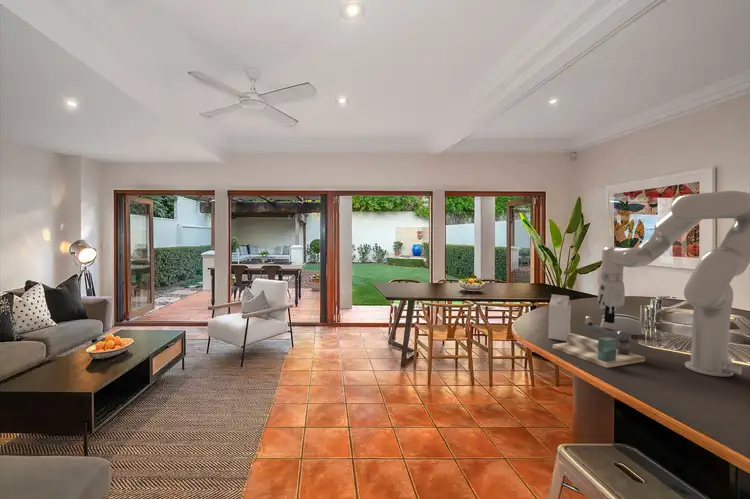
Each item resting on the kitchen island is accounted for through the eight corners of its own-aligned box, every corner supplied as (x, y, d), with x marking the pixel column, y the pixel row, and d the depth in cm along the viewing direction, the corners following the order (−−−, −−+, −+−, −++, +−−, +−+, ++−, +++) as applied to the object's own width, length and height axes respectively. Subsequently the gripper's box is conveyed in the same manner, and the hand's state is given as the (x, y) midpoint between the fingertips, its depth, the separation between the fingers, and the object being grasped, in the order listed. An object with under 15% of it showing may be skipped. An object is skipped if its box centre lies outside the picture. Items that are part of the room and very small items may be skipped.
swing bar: (633, 340, 145) (634, 326, 144) (625, 342, 143) (625, 327, 143) (589, 329, 162) (590, 315, 162) (582, 330, 160) (582, 316, 160)
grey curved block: (640, 332, 181) (642, 314, 177) (641, 338, 177) (644, 319, 173) (598, 328, 188) (599, 310, 184) (599, 334, 184) (600, 316, 180)
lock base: (644, 361, 142) (645, 336, 141) (606, 367, 135) (607, 342, 134) (587, 343, 164) (587, 322, 164) (552, 348, 157) (552, 325, 157)
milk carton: (552, 335, 177) (553, 293, 176) (570, 338, 172) (571, 295, 171) (548, 338, 171) (549, 295, 170) (565, 341, 167) (567, 297, 166)
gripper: (607, 279, 151) (604, 326, 153) (633, 278, 157) (630, 323, 158) (590, 277, 158) (587, 321, 160) (615, 275, 164) (613, 318, 165)
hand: (609, 322), depth 159 cm, fingers closed
